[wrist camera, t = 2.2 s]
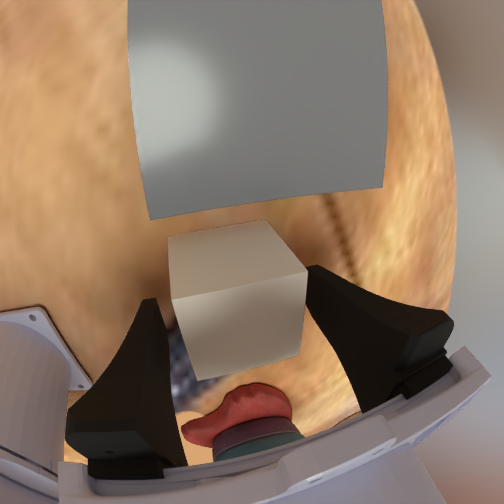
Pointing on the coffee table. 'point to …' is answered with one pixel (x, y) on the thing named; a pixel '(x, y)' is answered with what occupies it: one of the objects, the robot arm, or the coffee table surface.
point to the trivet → (256, 99)
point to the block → (236, 297)
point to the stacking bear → (245, 423)
